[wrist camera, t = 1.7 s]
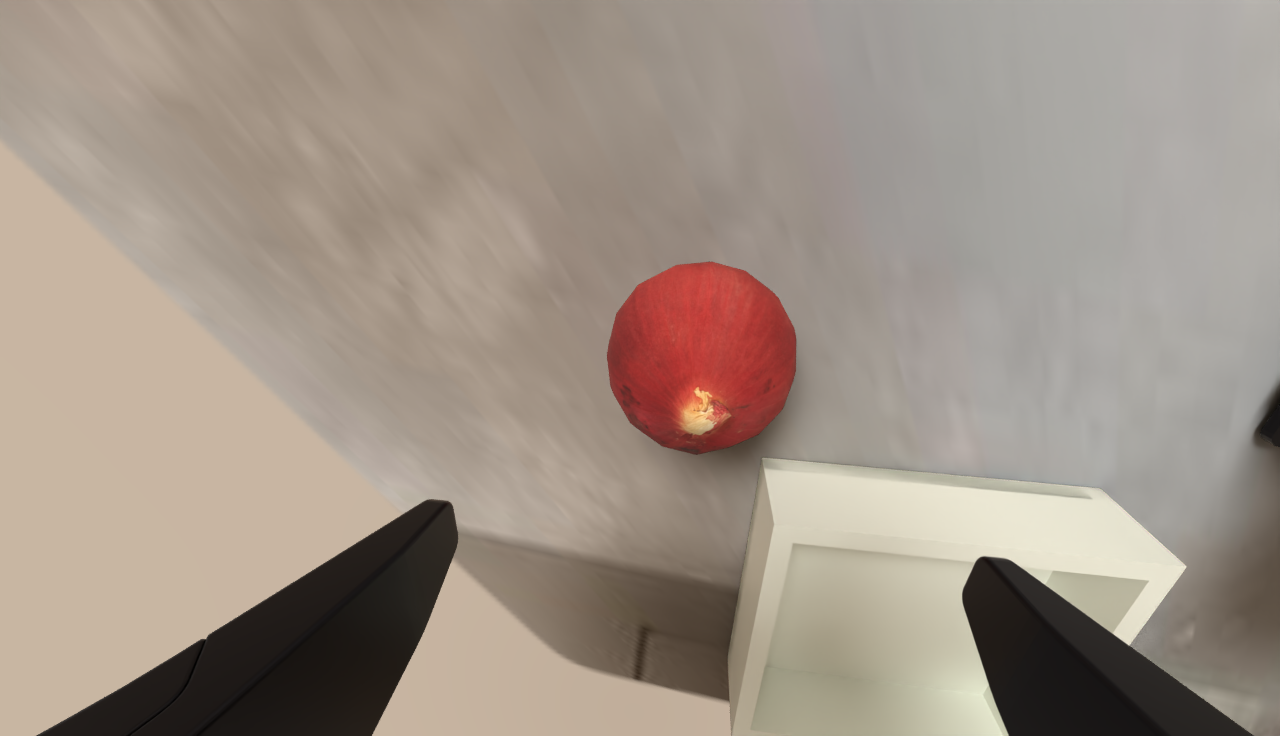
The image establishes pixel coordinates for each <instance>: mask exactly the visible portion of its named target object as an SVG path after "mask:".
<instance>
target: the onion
mask: <svg viewBox="0 0 1280 736" xmlns="http://www.w3.org/2000/svg"><path fill="white" fill-rule="evenodd" d="M607 361H608V369H609V377H610V386H611V389H612V391H613V393H614V396H615V397H616V399H617V401H618V403H619V404H620V406H621V408H622V409H623V411H624V413H625V415H626V416H627V418H628V420H629V421H630V423H631V424H632V425H634V426H635V427H636V428H637V429H639V430H640V431H642V432H643V433H644V434H646V435H647V436H649V437H650V438H651V439H653V440H654V441H656V442H657V443H658V444H660V445H661V446H663V447H667V448H671V449H675V450H679V451H683V452H687V453H691V454H695V455H697V454H702V453H706V452H711V451H715V450H720V449H724V448H728V447H731V446H733V445H735V444H738V443H740V442H742V441H745V440H747V439H749V438H752V437H754V436H756V435H758V434H759V433H760V432H761V431H762V430H763V429H764V428H765V427H766V426H767V425H768V424H769V423H770V422H771V421H772V420H773V419H774V418H775V417H776V416H777V415H778V414H779V413H780V411H781V410H782V409H783V407H784V404H785V401H786V399H787V396H788V393H789V391H790V388H791V385H792V382H793V379H794V376H795V372H796V335H795V330H794V327H793V325H792V323H791V321H790V319H789V317H788V315H787V313H786V312H785V310H784V308H783V306H782V304H781V302H780V300H779V298H778V297H777V296H776V295H775V294H774V293H773V292H772V291H771V290H770V289H768V288H767V287H766V286H764V285H763V284H762V283H761V282H759V281H758V280H757V279H755V278H754V277H753V276H751V275H750V274H749V273H748V272H746V271H744V270H740V269H736V268H733V267H729V266H725V265H722V264H718V263H714V262H704V263H693V264H682V265H676V266H674V267H672V268H670V269H668V270H666V271H664V272H662V273H660V274H658V275H656V276H654V277H652V278H650V279H648V280H646V281H644V282H643V283H641V284H639V285H638V286H637V287H636V288H635V290H634V291H633V292H632V294H631V295H630V296H629V298H628V299H627V300H626V302H625V303H624V304H623V306H622V307H621V308H620V310H619V311H618V312H617V314H616V317H615V321H614V325H613V329H612V333H611V337H610V341H609V346H608V352H607Z"/></svg>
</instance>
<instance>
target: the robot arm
mask: <svg viewBox="0 0 1280 736" xmlns="http://www.w3.org/2000/svg"><path fill="white" fill-rule="evenodd" d="M1260 434H1261V437H1262V438H1263V439H1264V440H1266V441H1267V442H1269V443H1271V444H1273V445H1275V446H1278V447H1280V404H1279V405H1278V407H1277V408H1276V410H1275V411H1274V412H1273V414H1272V415H1271V417H1270V418H1269V420H1268V421H1267V422H1266V424H1265V425H1264V427H1263V428H1262V430H1261V432H1260ZM457 544H458V531H457V526H456V520H455V514H454V509H453V505H452V504H451V503H450V502H449V501H444V500H434V499H429V500H426V501H424V502H422V503H420V504H419V505H417V506H416V507H414V508H412V509H411V510H409V511H408V512H406V513H404V514H403V515H401V516H400V517H398V518H396V519H395V520H393V521H391V522H390V523H388V524H387V525H385V526H383V527H382V528H380V529H379V530H377V531H375V532H374V533H372V534H370V535H369V536H368V537H366V538H364V539H363V540H361V541H359V542H358V543H356V544H354V545H353V546H351V547H350V548H348V549H346V550H345V551H343V552H341V553H340V554H338V555H337V556H335V557H334V558H332V559H330V560H329V561H327V562H325V563H324V564H322V565H321V566H319V567H317V568H316V569H314V570H312V571H311V572H309V573H308V574H306V575H305V576H303V577H301V578H300V579H298V580H297V581H295V582H293V583H291V584H290V585H288V586H287V587H285V588H283V589H282V590H280V591H279V592H277V593H275V594H274V595H272V596H271V597H269V598H267V599H266V600H264V601H262V602H261V603H259V604H258V605H256V606H255V607H253V608H251V609H250V610H248V611H246V612H245V613H243V614H241V615H240V616H238V617H237V618H235V619H233V620H232V621H230V622H229V623H227V624H225V625H224V626H222V627H220V628H219V629H217V630H216V631H214V632H212V633H211V634H209V635H208V637H207V639H201V640H199V641H198V642H196V643H194V644H193V645H191V646H190V647H188V648H186V649H185V650H183V651H182V652H180V653H178V654H177V655H175V656H173V657H172V658H170V659H168V660H167V661H165V662H163V663H162V664H160V665H159V666H157V667H155V668H154V669H152V670H150V671H149V672H147V673H145V674H144V675H142V676H141V677H139V678H137V679H135V680H134V681H132V682H130V683H129V684H127V685H125V686H124V687H122V688H120V689H118V690H117V691H115V692H113V693H111V694H110V695H108V696H106V697H104V698H103V699H101V700H99V701H97V702H96V703H94V704H92V705H90V706H88V707H87V708H85V709H83V710H81V711H80V712H78V713H77V714H74V715H73V716H71V717H69V718H67V719H66V720H64V721H62V722H60V723H58V724H57V725H55V726H53V727H51V728H49V729H48V730H46V731H44V732H42V733H40V734H39V735H37V736H372V734H373V732H374V730H375V728H376V726H377V724H378V722H379V720H380V718H381V716H382V714H383V712H384V710H385V709H386V706H387V705H388V703H389V700H390V698H391V697H392V694H393V693H394V691H395V689H396V686H397V685H398V682H399V681H400V679H401V677H402V675H403V673H404V671H405V669H406V667H407V665H408V663H409V661H410V659H411V657H412V655H413V653H414V651H415V649H416V647H417V645H418V643H419V641H420V639H421V637H422V634H423V632H424V630H425V628H426V625H427V623H428V621H429V618H430V616H431V613H432V610H433V608H434V605H435V603H436V600H437V597H438V595H439V592H440V589H441V587H442V584H443V582H444V579H445V576H446V574H447V571H448V569H449V566H450V563H451V561H452V558H453V556H454V553H455V550H456V548H457ZM962 602H963V607H964V610H965V613H966V616H967V619H968V622H969V625H970V628H971V632H972V635H973V638H974V641H975V644H976V647H977V650H978V653H979V656H980V659H981V662H982V666H983V669H984V672H985V675H986V678H987V681H988V684H989V687H990V690H991V693H992V696H993V698H994V701H995V704H996V706H997V709H998V711H999V714H1000V716H1001V719H1002V721H1003V723H1004V726H1005V728H1006V730H1007V733H1008V735H1009V736H1253V735H1252V734H1251V733H1249V732H1248V731H1246V730H1245V729H1244V728H1242V727H1241V726H1240V725H1238V724H1237V723H1235V722H1234V721H1233V720H1231V719H1230V718H1228V717H1227V716H1226V715H1224V714H1223V713H1222V712H1220V711H1219V710H1217V709H1216V708H1215V707H1213V706H1212V705H1210V704H1209V703H1208V702H1206V701H1205V700H1204V699H1202V698H1201V697H1199V696H1198V695H1197V694H1195V693H1194V692H1193V691H1191V690H1190V689H1188V688H1187V687H1186V686H1184V685H1183V684H1181V683H1180V682H1179V681H1177V680H1176V679H1175V678H1173V677H1172V676H1170V675H1169V674H1168V673H1166V672H1165V671H1164V670H1162V669H1161V668H1159V667H1158V666H1157V665H1155V664H1154V663H1152V662H1151V661H1150V660H1148V659H1147V658H1146V657H1144V656H1143V655H1141V654H1140V653H1139V652H1137V651H1136V650H1134V649H1133V648H1132V647H1130V646H1129V645H1128V644H1126V643H1125V642H1123V641H1122V640H1121V639H1119V638H1118V637H1117V636H1115V635H1114V634H1112V633H1111V632H1110V631H1108V630H1107V629H1105V628H1104V627H1103V626H1101V625H1100V624H1099V623H1097V622H1096V621H1094V620H1093V619H1092V618H1090V617H1089V616H1088V615H1086V614H1085V613H1083V612H1082V611H1081V610H1079V609H1078V608H1076V607H1075V606H1074V605H1072V604H1071V603H1070V602H1068V601H1067V600H1065V599H1064V598H1063V597H1061V596H1060V595H1058V594H1057V593H1056V592H1054V591H1053V590H1052V589H1050V588H1049V587H1047V586H1046V585H1045V584H1043V583H1042V582H1041V581H1039V580H1038V579H1036V578H1035V577H1034V576H1032V575H1031V574H1029V573H1028V572H1027V571H1025V570H1024V569H1023V568H1021V567H1020V566H1018V565H1017V564H1016V563H1014V562H1013V561H1011V560H1009V559H1006V558H999V557H989V556H982V557H980V558H978V559H977V560H976V562H975V564H974V566H973V568H972V570H971V573H970V575H969V577H968V579H967V581H966V583H965V586H964V588H963V591H962Z"/></svg>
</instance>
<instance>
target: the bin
mask: <svg viewBox="0 0 1280 736" xmlns="http://www.w3.org/2000/svg"><path fill="white" fill-rule="evenodd" d="M982 556H989V557H999V558H1006V559H1009V560H1011V561H1013V562H1014V563H1016V564H1017V565H1018V566H1020V567H1021V568H1023V569H1024V570H1025V571H1027V572H1028V573H1029V574H1031V575H1032V576H1034V577H1035V578H1036V579H1038V580H1039V581H1041V582H1042V583H1043V584H1045V585H1046V586H1047V587H1049V588H1050V589H1052V590H1053V591H1054V592H1056V593H1057V594H1058V595H1060V596H1061V597H1063V598H1064V599H1065V600H1067V601H1068V602H1070V603H1071V604H1072V605H1074V606H1075V607H1076V608H1078V609H1079V610H1081V611H1082V612H1083V613H1085V614H1086V615H1088V616H1089V617H1090V618H1092V619H1093V620H1094V621H1096V622H1097V623H1099V624H1100V625H1101V626H1103V627H1104V628H1105V629H1107V630H1108V631H1110V632H1111V633H1112V634H1114V635H1115V636H1117V637H1118V638H1119V639H1121V640H1122V641H1123V642H1125V643H1126V644H1128V645H1130V644H1131V642H1132V641H1133V640H1134V638H1135V637H1136V636H1137V634H1138V633H1139V631H1140V630H1141V629H1142V627H1143V626H1144V625H1145V623H1146V622H1147V620H1148V619H1149V618H1150V616H1151V615H1152V614H1153V612H1154V611H1155V610H1156V608H1157V607H1158V605H1159V604H1160V603H1161V601H1162V600H1163V599H1164V597H1165V596H1166V595H1167V593H1168V592H1169V590H1170V589H1171V588H1172V586H1173V585H1174V584H1175V582H1176V581H1177V580H1178V578H1179V577H1180V575H1181V574H1182V573H1183V571H1184V570H1185V569H1186V567H1187V566H1186V565H1184V564H1183V563H1182V562H1181V561H1180V560H1179V559H1178V558H1177V557H1176V556H1174V555H1173V554H1172V553H1171V552H1170V551H1169V550H1168V549H1167V548H1166V547H1165V546H1163V545H1162V544H1161V543H1160V542H1159V541H1158V540H1157V539H1156V538H1155V537H1153V536H1152V535H1151V534H1150V533H1149V532H1148V531H1147V530H1146V529H1145V528H1144V527H1142V526H1141V525H1140V524H1139V523H1138V522H1137V521H1136V520H1135V519H1134V518H1132V517H1131V516H1130V515H1129V514H1128V513H1127V512H1126V511H1125V510H1124V509H1122V508H1121V507H1120V506H1119V505H1118V504H1117V503H1116V502H1115V501H1114V500H1113V499H1111V498H1110V497H1109V496H1108V495H1107V494H1106V493H1105V492H1104V491H1103V490H1101V489H1100V488H1090V487H1080V486H1069V485H1058V484H1047V483H1036V482H1025V481H1014V480H1003V479H992V478H981V477H970V476H960V475H949V474H938V473H927V472H916V471H905V470H894V469H883V468H872V467H861V466H850V465H840V464H829V463H818V462H807V461H796V460H785V459H774V458H763V457H762V460H761V466H760V472H759V478H758V483H757V489H756V495H755V501H754V506H753V512H752V518H751V524H750V530H749V535H748V541H747V547H746V553H745V559H744V564H743V570H742V576H741V582H740V588H739V593H738V599H737V605H736V611H735V616H734V622H733V628H732V634H731V640H730V645H729V651H728V657H727V658H728V678H729V699H730V719H731V736H1009V735H1008V733H1007V730H1006V728H1005V726H1004V723H1003V721H1002V719H1001V716H1000V714H999V711H998V709H997V706H996V704H995V701H994V698H993V696H992V693H991V690H990V687H989V684H988V681H987V678H986V675H985V672H984V669H983V666H982V662H981V659H980V656H979V653H978V650H977V647H976V644H975V641H974V638H973V635H972V632H971V628H970V625H969V622H968V619H967V616H966V613H965V610H964V607H963V602H962V591H963V588H964V586H965V583H966V581H967V579H968V577H969V575H970V573H971V570H972V568H973V566H974V564H975V562H976V560H977V559H978V558H980V557H982Z"/></svg>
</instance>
